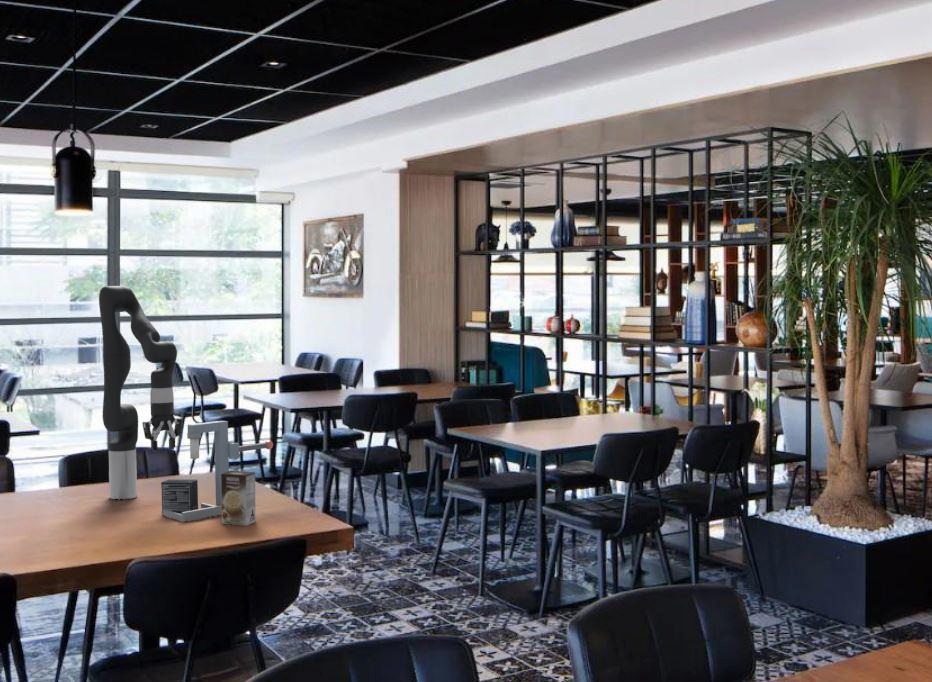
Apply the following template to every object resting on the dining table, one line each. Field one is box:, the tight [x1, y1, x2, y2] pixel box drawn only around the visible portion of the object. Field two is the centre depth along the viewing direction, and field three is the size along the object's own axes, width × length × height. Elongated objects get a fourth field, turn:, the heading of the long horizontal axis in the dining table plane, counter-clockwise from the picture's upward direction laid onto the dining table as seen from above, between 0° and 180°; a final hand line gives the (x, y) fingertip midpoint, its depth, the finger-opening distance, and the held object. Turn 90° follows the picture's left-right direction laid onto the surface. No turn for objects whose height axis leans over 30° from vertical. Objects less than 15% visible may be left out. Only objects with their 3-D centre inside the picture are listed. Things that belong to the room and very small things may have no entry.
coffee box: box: [221, 469, 257, 527], centre depth 322 cm, size 9×6×16 cm
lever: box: [228, 440, 274, 454], centre depth 347 cm, size 3×18×3 cm, turn 135°
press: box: [162, 420, 240, 523], centre depth 336 cm, size 13×23×30 cm, turn 135°
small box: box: [160, 478, 199, 514], centre depth 340 cm, size 11×6×10 cm, turn 84°
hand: (163, 450), depth 347 cm, fingers open, 5 cm apart
